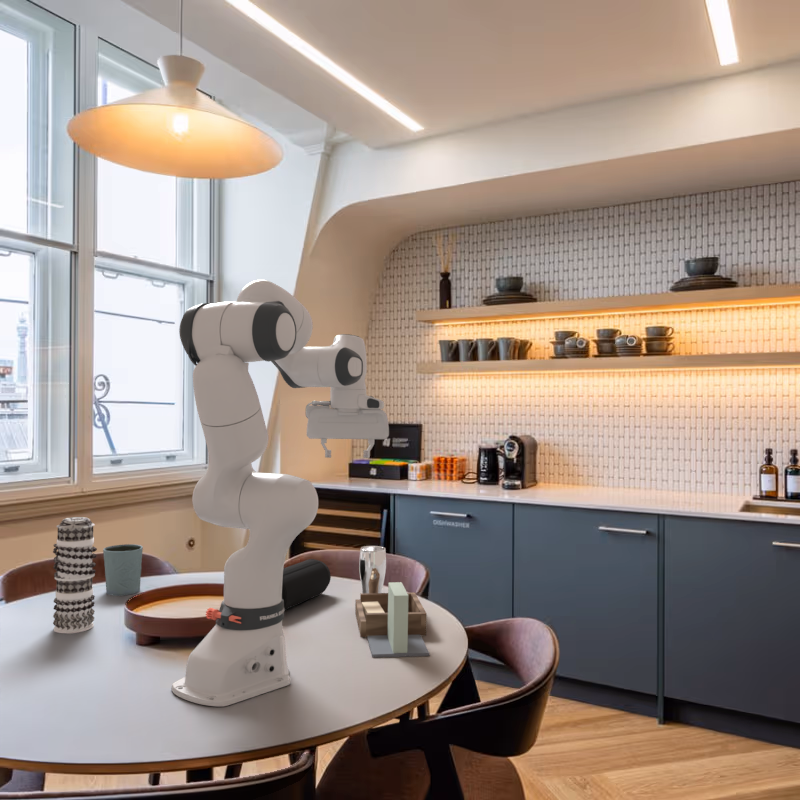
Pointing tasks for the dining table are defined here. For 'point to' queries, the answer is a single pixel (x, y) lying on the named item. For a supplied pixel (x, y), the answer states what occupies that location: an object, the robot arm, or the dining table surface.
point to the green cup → (123, 569)
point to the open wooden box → (379, 621)
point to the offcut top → (371, 607)
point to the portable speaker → (304, 581)
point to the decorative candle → (74, 576)
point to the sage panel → (397, 617)
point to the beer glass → (372, 568)
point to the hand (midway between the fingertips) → (347, 457)
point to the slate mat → (383, 648)
